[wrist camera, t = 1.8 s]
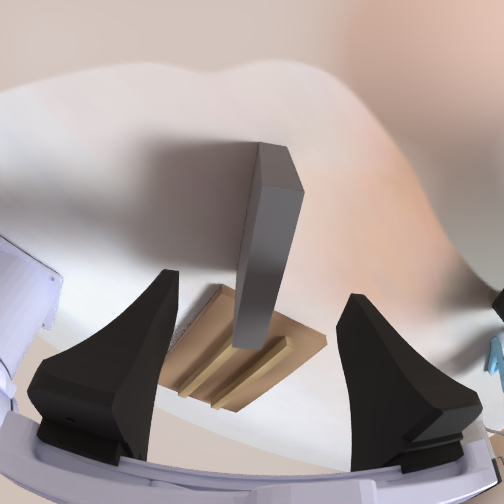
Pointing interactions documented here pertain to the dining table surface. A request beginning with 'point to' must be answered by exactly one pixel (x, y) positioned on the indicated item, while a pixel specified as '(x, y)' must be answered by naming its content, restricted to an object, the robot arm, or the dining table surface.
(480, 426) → the glass holder
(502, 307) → the ammunition clip
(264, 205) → the grey upright slab
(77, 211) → the dining table surface
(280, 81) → the dining table surface
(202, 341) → the board
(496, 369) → the chair
